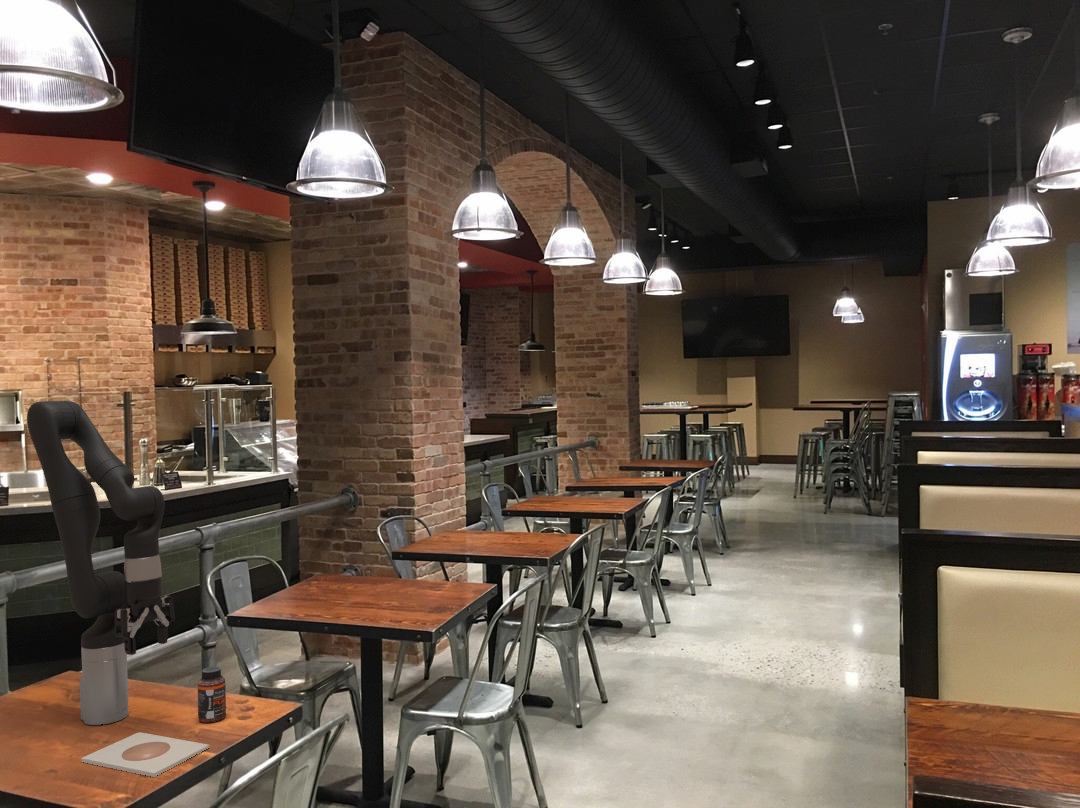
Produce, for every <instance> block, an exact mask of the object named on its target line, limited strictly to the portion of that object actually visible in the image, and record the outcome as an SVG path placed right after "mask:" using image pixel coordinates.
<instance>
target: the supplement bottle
mask: <svg viewBox="0 0 1080 808" xmlns="http://www.w3.org/2000/svg"><path fill="white" fill-rule="evenodd" d="M221 673H222V671H221V667H219V666H210V667H205V668H203V669H202V670H201V679H199V680H198V682H197V718H198V719H197V720H198V721H199V722H201V723H205V724H207V723H208V724H210V722H212V723H216V721H217V722H219V720H220V721H221V720H223V719H224V718H225V717H226V715H227V704H226V703H227V701H226V700H227V696H226V690H227V689H226V678H225V677H224V676H223V675H222V674H221Z"/></svg>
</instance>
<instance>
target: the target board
mask: <svg viewBox="0 0 1080 808" xmlns="http://www.w3.org/2000/svg"><path fill="white" fill-rule="evenodd" d="M208 748H211V747H210V744H207V743H201V742H196V741H190V740H184V739H179V738H173V737H168V736H162V735H157V734H153V733H146V732H141V731H139V732H136V733H134V734H132V735H130V736H127V737H124V738H123V739H120V740H118V741H116V742H114V743H111V744H109V745H107V746H105V747H103V748H100V749H99V750H96V751H94V752H92V753H89V754H87V755H85V756H83V757H81V758H80V759H81V760H80V762H81V763H83V762H84V763H83V764H87V763H88V765H92V764H93V766H97V765H98V766H97V767H102V766H103V768H107V769H111V768H113V769H112V770H116V769H117V770H118V771H121V770H122V771H121V772H126V771H127V773H131V774H135V773H136V775H140V774H141V775H142V776H145V775H146V777H150V776H151V777H150V778H157V777H158V776H160V775H162V774H164V773H166V772H168V771H169V769H170V770H172V769H174V768H175V767H177V766H179V765H181V764H183V763H185V762H187V761H188V760H187V759H189V758H191V757H193V756H195V755H196V754H198V753H200V754H202V753H203V752H202V751H204V750H206V749H208ZM208 750H209V749H208ZM206 751H207V750H206ZM201 752H202V753H201ZM204 752H205V751H204ZM198 755H199V754H198ZM196 756H197V755H196ZM196 756H195V757H196ZM193 758H194V757H193ZM191 759H192V758H191ZM186 760H187V761H186ZM189 760H190V759H189ZM184 761H185V762H184ZM182 762H183V763H182ZM180 763H181V764H180ZM178 764H179V765H178ZM176 765H177V766H176ZM174 766H175V767H174ZM173 767H174V768H173ZM171 768H172V769H171ZM117 770H116V771H117ZM167 770H168V771H167ZM165 771H166V772H165ZM163 772H164V773H163ZM161 773H162V774H161ZM141 775H140V776H141ZM157 775H158V776H157Z"/></svg>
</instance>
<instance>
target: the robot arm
mask: <svg viewBox="0 0 1080 808" xmlns="http://www.w3.org/2000/svg"><path fill="white" fill-rule="evenodd" d="M26 424H27V429H28V432H29V433H28V434H29V437H30V439H31V442H32V444H33V447H34V450H35V452H36V455H37V457H38V461H39V463H40V465H41V469H42V472H43V476H44V479H45V484H46V487H47V489H48V494H49V499H50V500H49V501H50V504H51V508H52V513H53V517H54V520H55V524H56V527H57V530H58V534H59V538H60V543H61V548H62V552H63V556H64V562H65V568H66V569H65V570H66V576H67V577H66V578H67V583H68V589H69V590H68V591H69V596H70V600H71V604H72V607H73V608H74V611H75V613H77V615H78V616H80V617H81V618H82V619H92V618H95V617H97V619H96V620H95V621H94V623H93V624H92V625H91V626H90V627H88V629H86V630H85V631H84V632H83V633H82V634H81V638H80V645H81V650H80V651H81V676H82V677H80V679H79V702H80V703H79V707H80V720H81V721H83V723H84V724H85V725H90V726H102V725H101V724H103V725H107V724H113V723H116V722H118V721H121V720H123V719H125V718H127V717H128V716H129V713H130V712H129V686H128V685H129V684H128V683H129V681H128V680H129V679H128V656H132V655H133V656H134V655H136V654H137V648H136V647H137V645H136V644H137V643H136V637H135V635H136V634H137V631H138V630H139V629H140V628H141V626H142V624H146V623H147V622H154V623H155V624H156V625H157V627H156V634H157V643H158V644H161V645H164V644H167V643H168V639H169V629H168V627H169V625H170V624H171V623H172V622H173V623H174V622H175V621H176V614H175V605H174V597H173V596H172V595H163V591H164V590H163V578H162V576H163V575H162V574H163V573H162V563H161V558H160V544H159V543H160V541H159V534H160V530H161V526H162V522H163V517H164V513H165V507H166V505H165V504H166V503H165V498H164V495H163V493H162V491H161V490H160V489H159V488H158V487H156V486H154V485H153V486H151V485H147V486H139V487H133V485H134V482H135V480H136V479H135V476H134V473H133V472H132V471H131V469H130V468H129V467H128V466H127V465H126V464H125V463H124V462H123V461H122V460H121V459H120V458H119V457H118V456H117V455H116V454H115V453H114V452H113V451H112V450H111V448H110V447H109V446H108V444H107V443H106V442H105V440H104V438H103V437H102V436H101V434H100V432H99V430H98V429H97V427H96V426H95V425H94V423H93V422H92V419H90V417H89V416H88V414H87V413H86V412H85V410H84V408H83V407H81V405H79V404H78V403H77V402H74V401H71V400H48V401H47V400H45V401H44V400H43V401H36V402H33V403H32V404H31V405H29V407H28V410H27V413H26ZM63 440H71V441H72V442H74V443H75V444H76V445H78V446H79V447H80V449H82V452H83V462H84V468H85V470H86V473H87V475H88V476H89V477H90V479H92V480H93V481H94V483H95V484H97V486H98V487H99V488H100V489H101V490H102V491H104V494H105V496H106V499H107V501H108V503H109V506H110V508H111V509H112V511H113V512H114V514H115V515H116V516H117V517H118V518H120V519H121V520H124V521H134V520H138V521H137V524H136V526H135V528H134V529H131V530H129V531H127V532H126V533H125V534H124V537H123V551H124V552H123V553H124V554H123V555H124V566H123V569H124V570H123V573H124V574H123V573H121V572H120V571H116V570H112V571H106V572H101V573H97V574H96V572H95V569H94V564H93V557H92V556H93V554H92V552H93V547H94V542H95V538H96V536H97V533H98V530H99V526H100V523H101V509H100V505H99V501H98V499H97V498H98V497H97V493H96V490H95V488H94V486H93V484H92V483H91V482H90V480H89V479H88V478H87V477H86V476H85V475H84V474H83V473H82V472H81V471H80V470H79V469H78V468H77V467H76V465H74V464H73V463H72V462H73V461H71V460H70V458H69V457H68V456H67V453H66V451H65V449H64V446H63V443H62V441H63ZM132 487H133V488H132Z"/></svg>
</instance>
